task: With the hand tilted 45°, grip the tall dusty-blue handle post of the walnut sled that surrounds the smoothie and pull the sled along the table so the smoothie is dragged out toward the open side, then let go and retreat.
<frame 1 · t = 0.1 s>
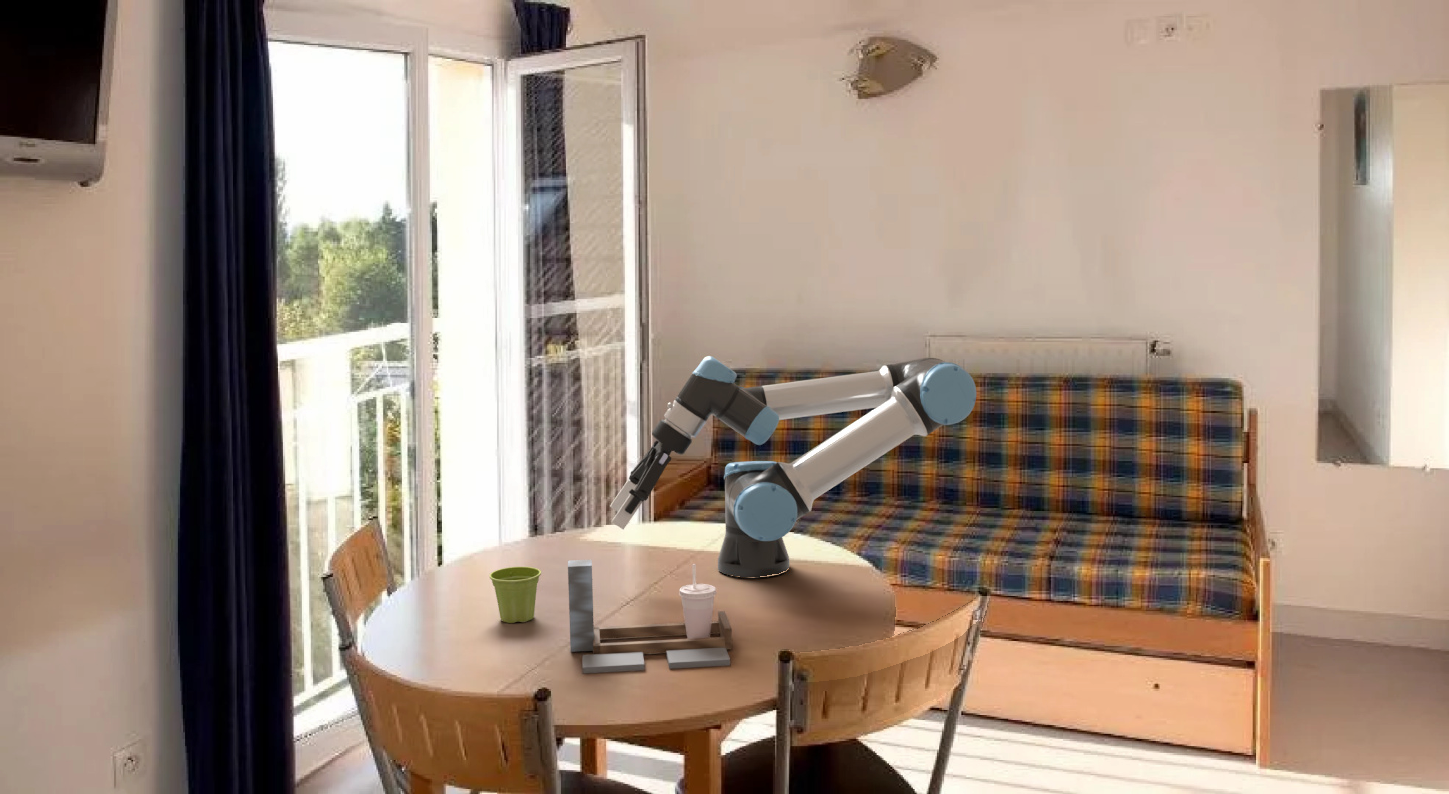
hand: (616, 517, 239), 15 cm above the table, tool tilted 35°, fingers open, 13 cm apart
smoothie: (698, 644, 212), resting in sled
sled: (649, 602, 210), point 8 cm above the table, slide at 0.0 cm
plant pot: (517, 619, 227), on the table
broken strip: (655, 663, 202), on the table
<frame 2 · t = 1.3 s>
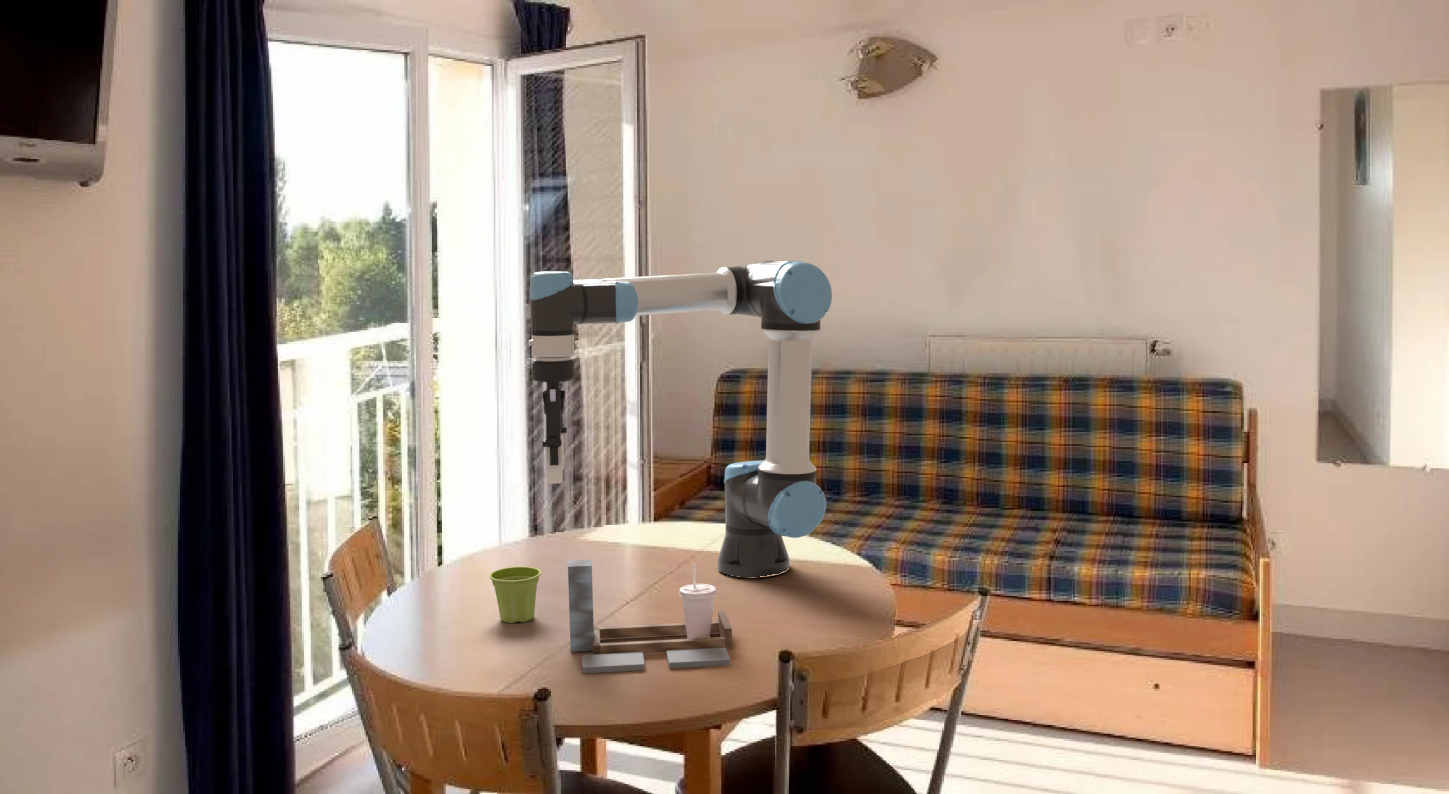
hand: (555, 476, 221), 27 cm above the table, tool pointing down, fingers open, 13 cm apart
nothing on the table moved.
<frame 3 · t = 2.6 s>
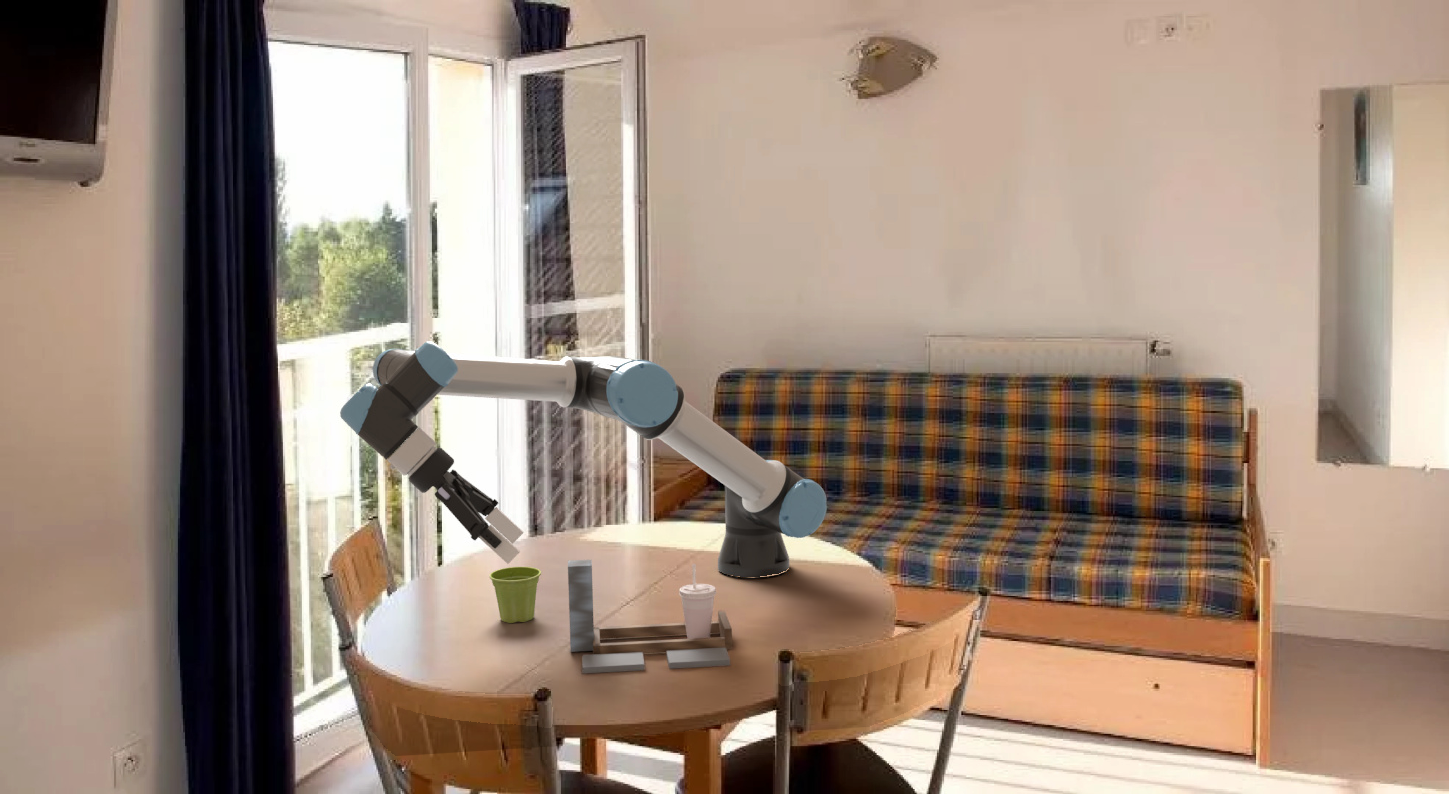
hand: (516, 547, 206), 18 cm above the table, tool tilted 45°, fingers open, 13 cm apart
nothing on the table moved.
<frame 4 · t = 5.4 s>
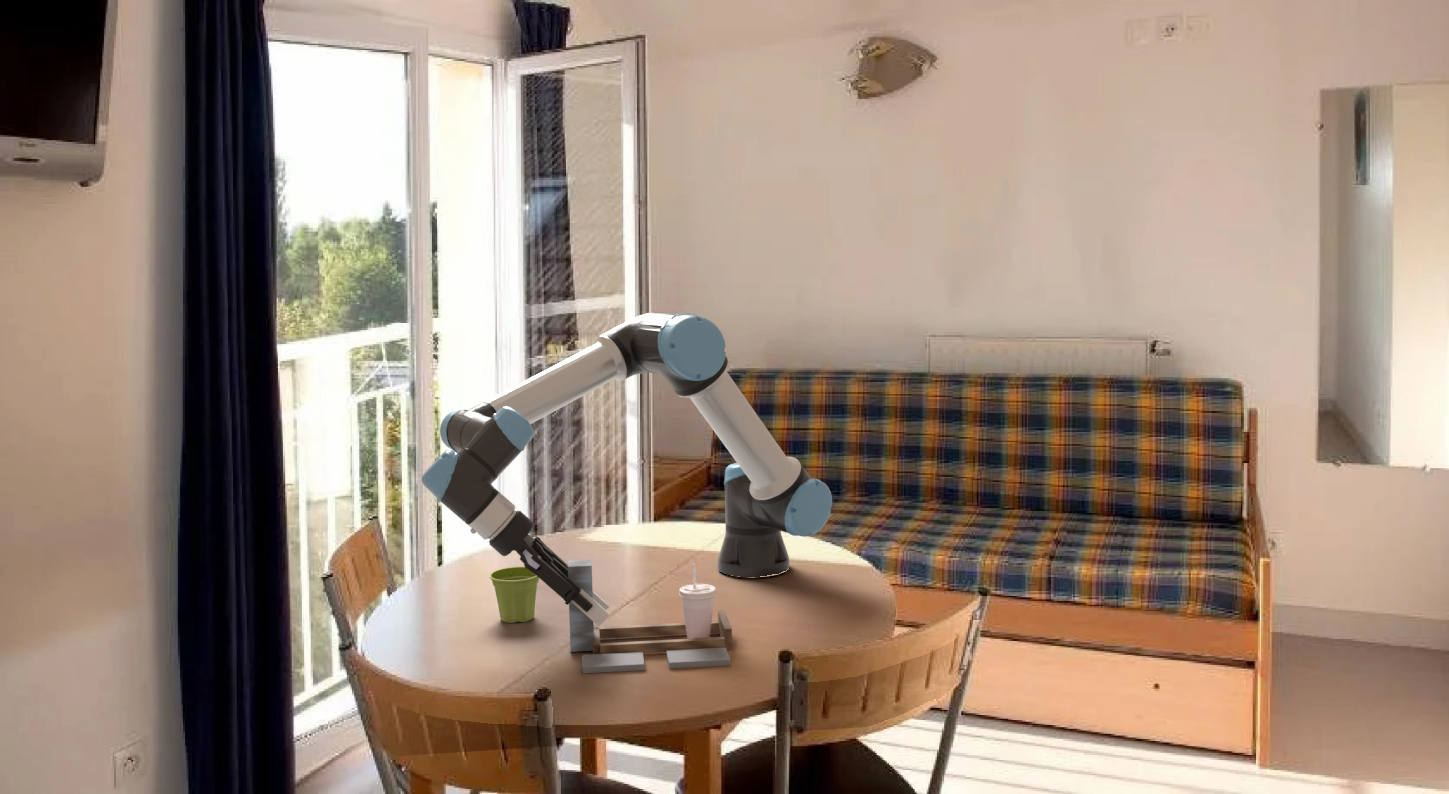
hand: (603, 615, 209), 6 cm above the table, tool tilted 45°, fingers closed on sled, 4 cm apart
sled: (649, 602, 210), point 8 cm above the table, slide at 0.0 cm, touching gripper
everything else where it was.
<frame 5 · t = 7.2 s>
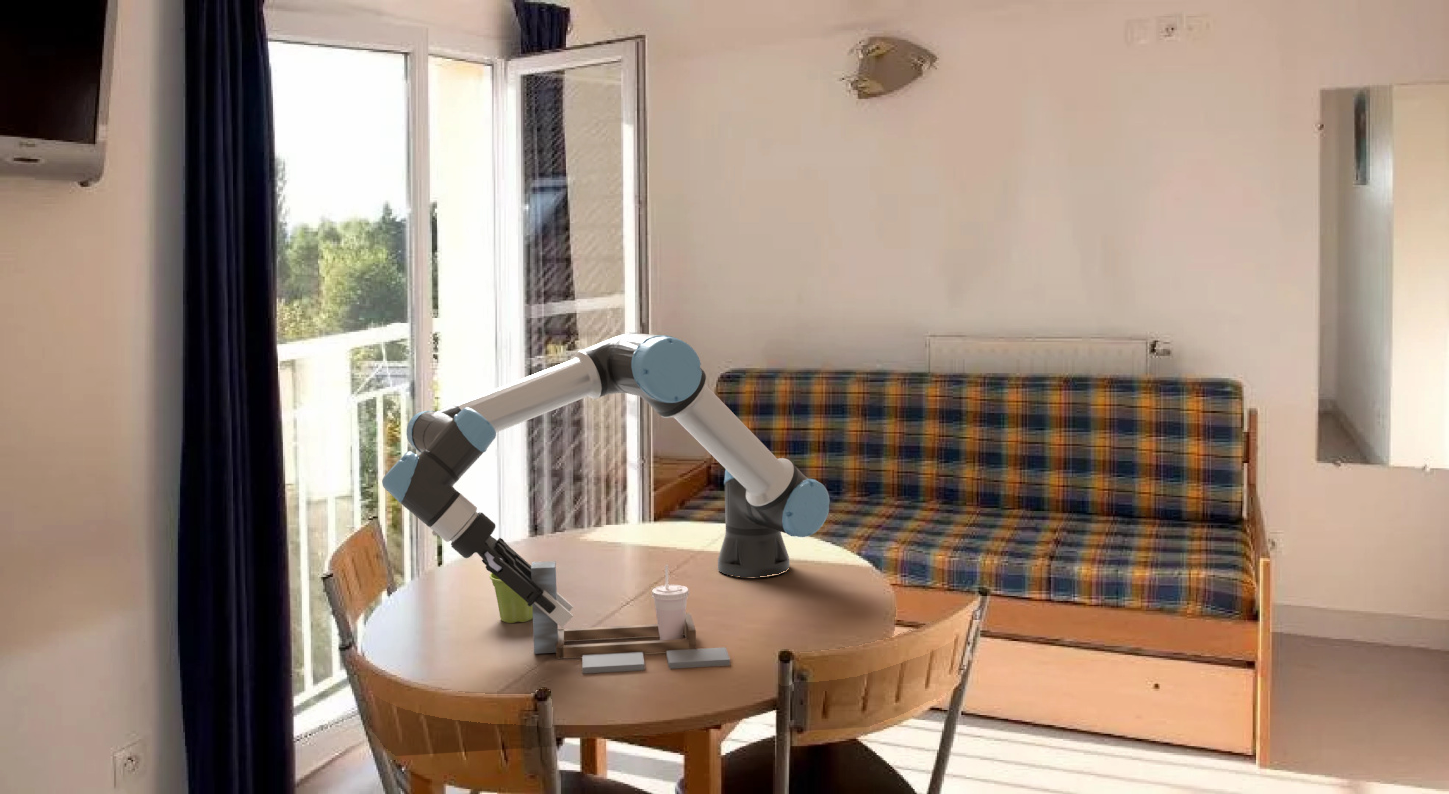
hand: (567, 616, 209), 6 cm above the table, tool tilted 45°, fingers closed on sled, 4 cm apart
smoothie: (671, 645, 211), resting in sled
sled: (613, 603, 209), point 8 cm above the table, slide at 6.1 cm, touching gripper, smoothie
everything else where it was.
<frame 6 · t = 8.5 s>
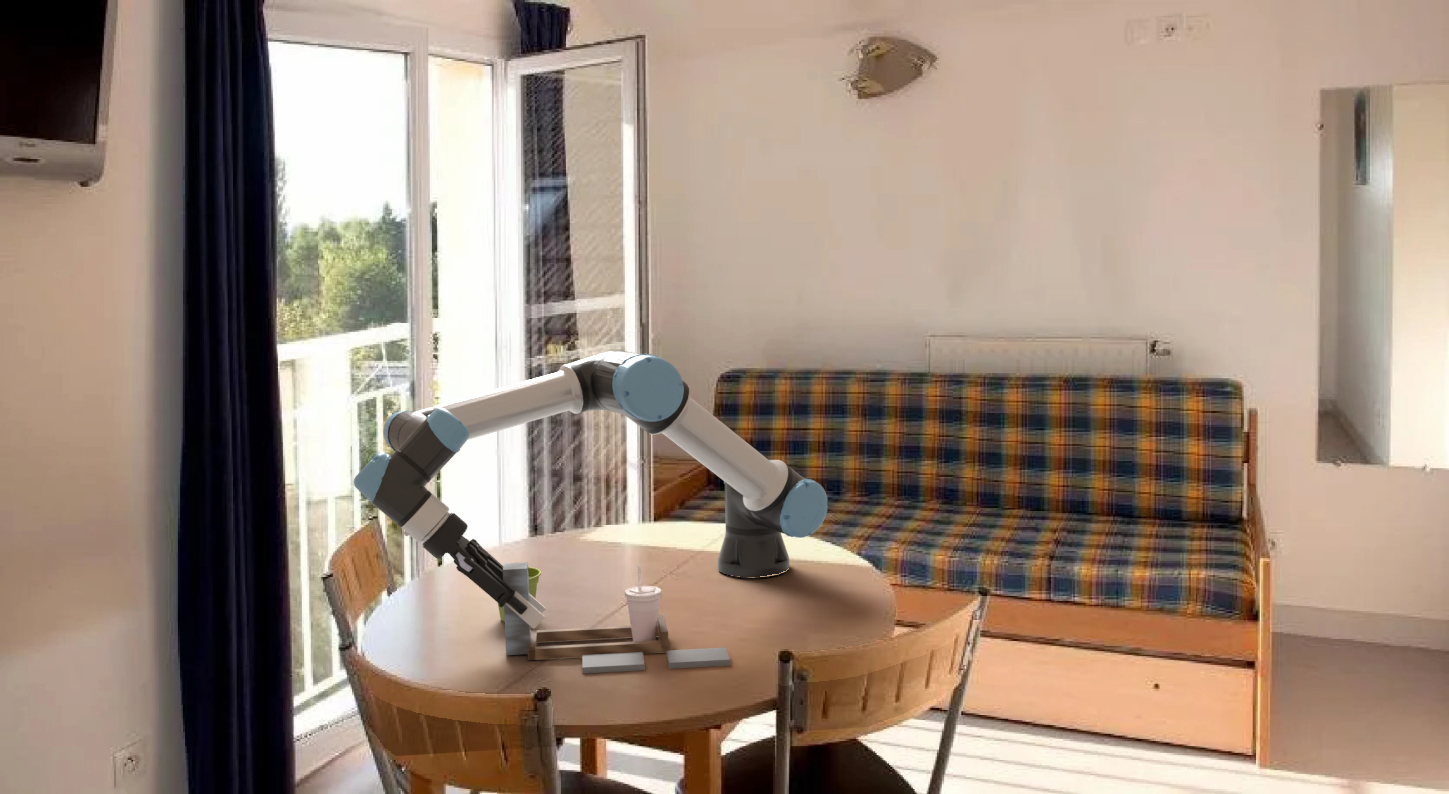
hand: (539, 618, 208), 6 cm above the table, tool tilted 45°, fingers closed on sled, 4 cm apart
smoothie: (644, 646, 211), resting in sled
sled: (585, 605, 209), point 8 cm above the table, slide at 10.8 cm, touching gripper, smoothie
everything else where it was.
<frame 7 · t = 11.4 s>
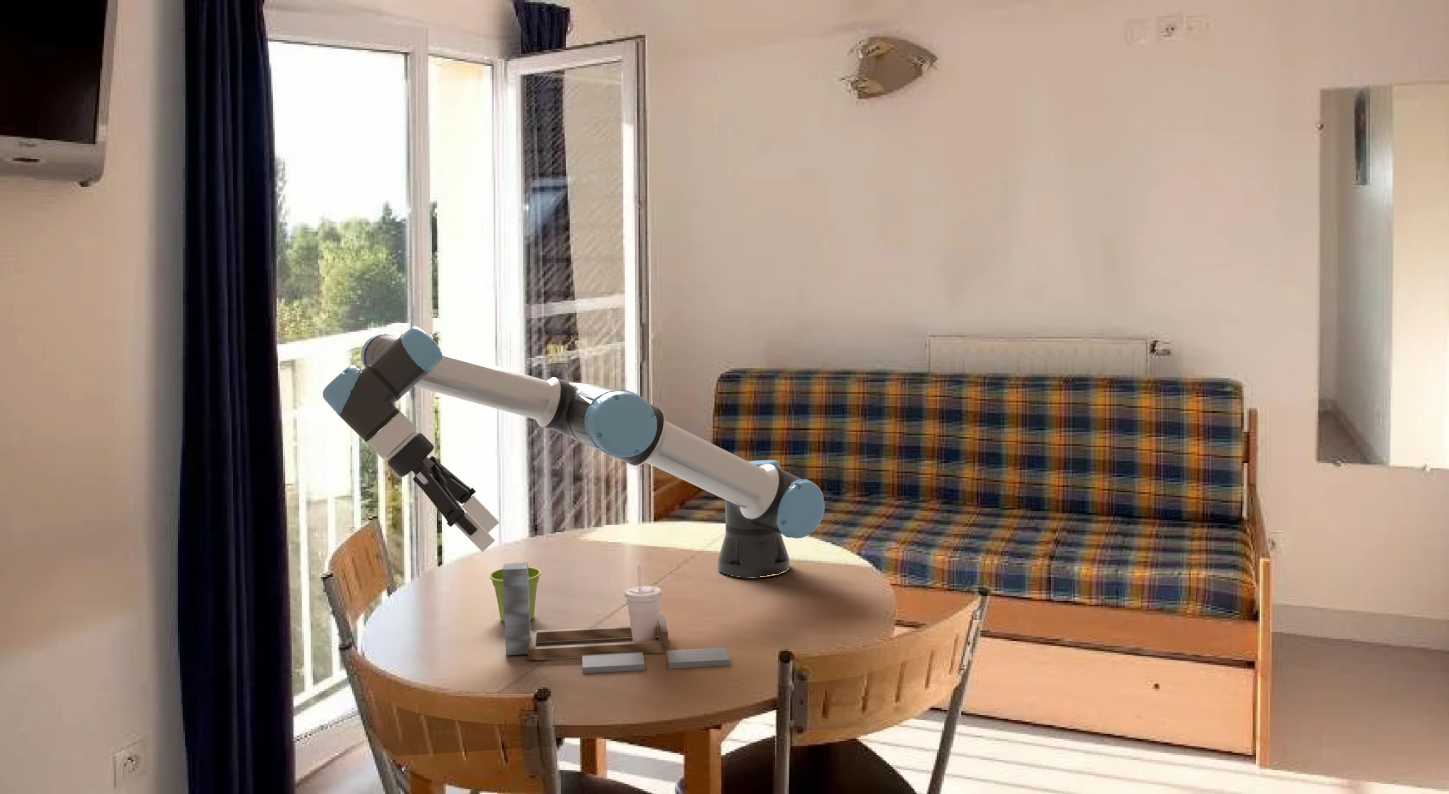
hand: (491, 536, 207), 20 cm above the table, tool tilted 40°, fingers open, 13 cm apart
smoothie: (644, 646, 211), resting in sled
sled: (585, 605, 209), point 8 cm above the table, slide at 10.8 cm
everything else where it was.
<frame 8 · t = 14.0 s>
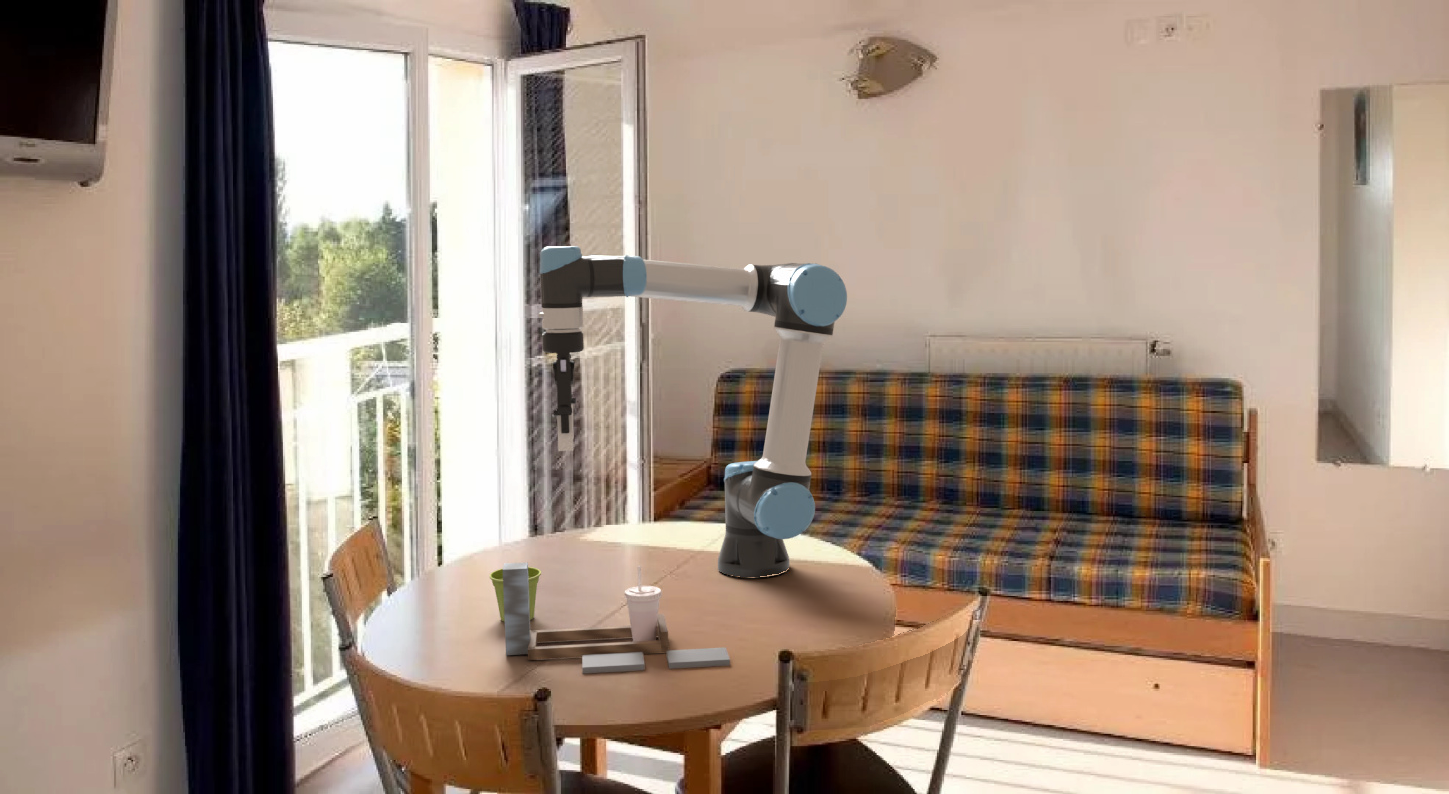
hand: (566, 444, 228), 32 cm above the table, tool pointing down, fingers open, 13 cm apart
nothing on the table moved.
at the end: sled slide at 10.8 cm; smoothie moved 9.4 cm from its start; smoothie tilted 0° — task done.
